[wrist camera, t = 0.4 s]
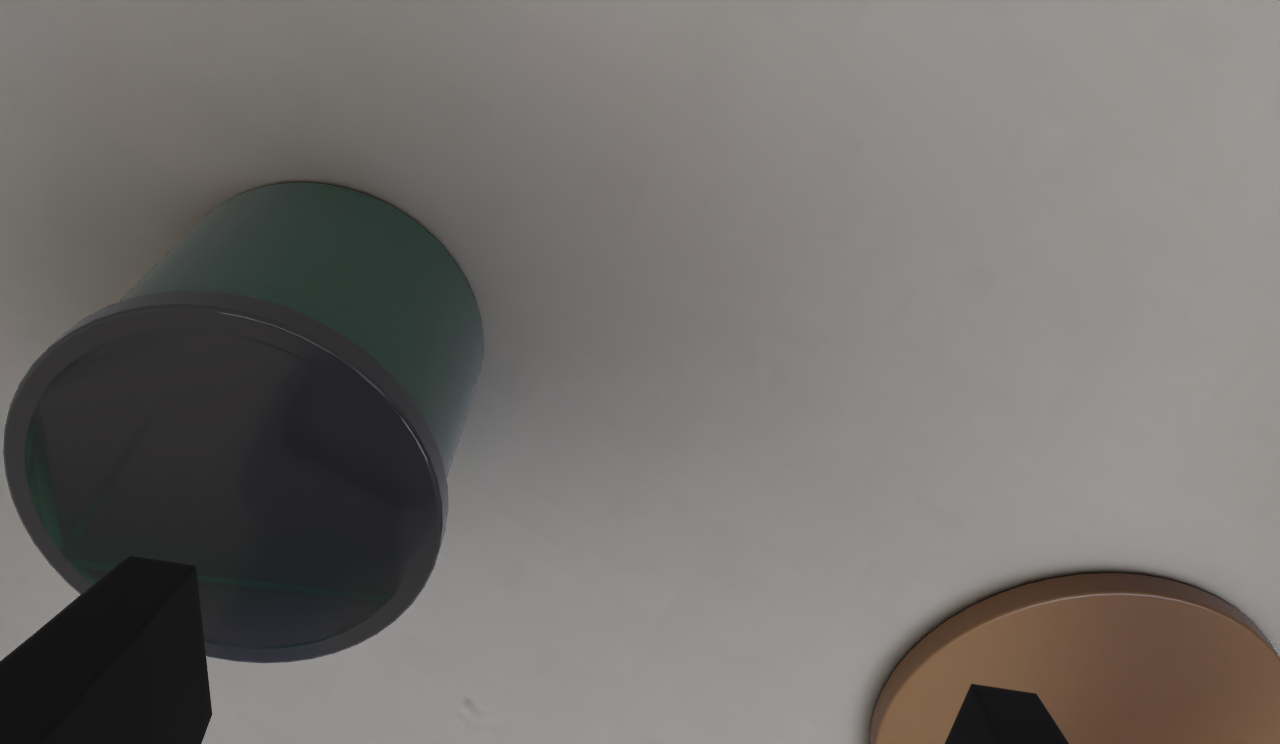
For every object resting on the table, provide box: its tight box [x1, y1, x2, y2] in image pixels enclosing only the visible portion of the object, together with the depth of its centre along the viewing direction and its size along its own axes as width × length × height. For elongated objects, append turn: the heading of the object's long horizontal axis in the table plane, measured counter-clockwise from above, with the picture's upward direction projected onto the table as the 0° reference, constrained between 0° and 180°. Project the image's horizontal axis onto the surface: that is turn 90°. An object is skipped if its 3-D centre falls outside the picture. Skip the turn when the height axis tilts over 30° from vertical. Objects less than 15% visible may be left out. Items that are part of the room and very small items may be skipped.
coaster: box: [870, 573, 1280, 744], centre depth 23 cm, size 8×8×1 cm
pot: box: [3, 182, 483, 663], centre depth 17 cm, size 6×6×5 cm
